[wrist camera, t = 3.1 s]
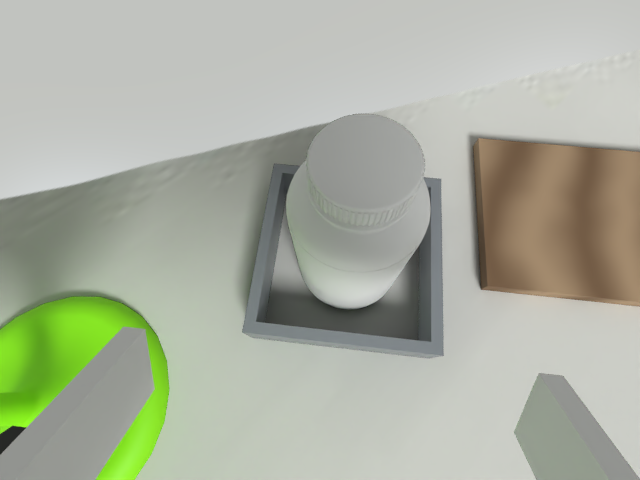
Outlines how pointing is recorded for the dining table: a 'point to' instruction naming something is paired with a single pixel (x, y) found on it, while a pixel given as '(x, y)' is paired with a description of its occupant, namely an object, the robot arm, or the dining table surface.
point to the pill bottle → (358, 209)
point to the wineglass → (76, 369)
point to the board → (558, 220)
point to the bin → (257, 328)
